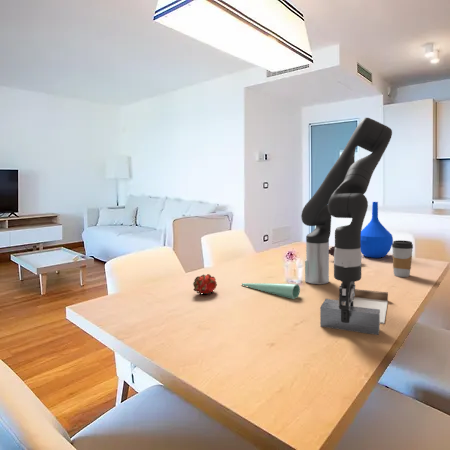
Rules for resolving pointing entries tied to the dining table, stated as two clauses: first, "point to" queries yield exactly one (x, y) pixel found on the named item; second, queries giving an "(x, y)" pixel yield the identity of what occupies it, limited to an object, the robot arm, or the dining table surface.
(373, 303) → the mat
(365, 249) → the vase
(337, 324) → the bracket
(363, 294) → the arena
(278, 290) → the mint green cone
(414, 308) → the dining table surface
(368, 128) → the robot arm
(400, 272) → the coffee cup
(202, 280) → the dragon fruit
